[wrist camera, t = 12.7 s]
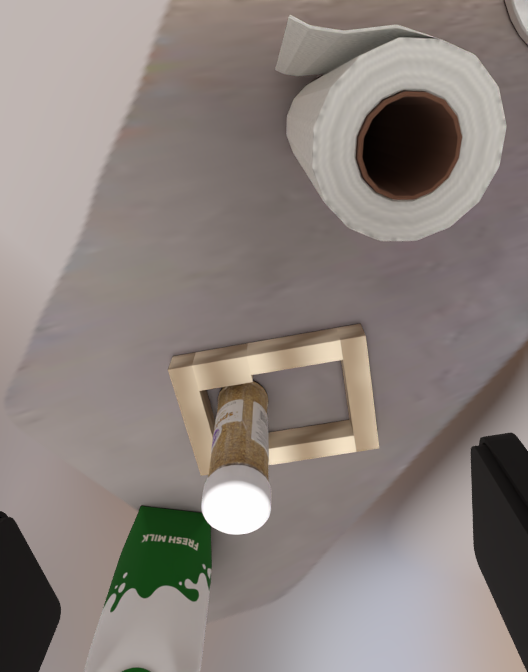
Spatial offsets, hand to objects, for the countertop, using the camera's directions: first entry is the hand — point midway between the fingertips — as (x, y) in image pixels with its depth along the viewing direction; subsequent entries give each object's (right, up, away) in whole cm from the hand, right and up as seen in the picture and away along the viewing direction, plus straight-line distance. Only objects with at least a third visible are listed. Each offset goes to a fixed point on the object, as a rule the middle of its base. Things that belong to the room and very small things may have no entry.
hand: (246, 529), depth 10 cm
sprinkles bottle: (-2, -2, +34) cm, 34 cm away
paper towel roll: (+5, +19, +25) cm, 32 cm away
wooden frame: (+1, -1, +34) cm, 34 cm away
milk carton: (-9, -17, +41) cm, 45 cm away
